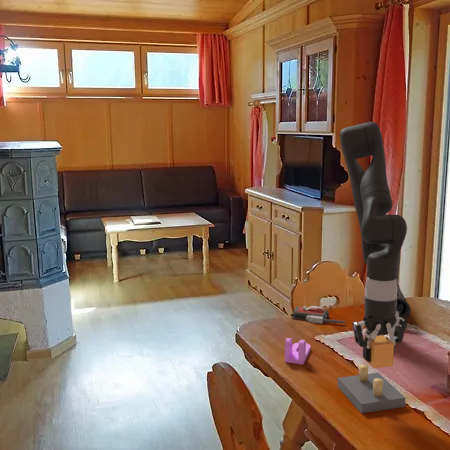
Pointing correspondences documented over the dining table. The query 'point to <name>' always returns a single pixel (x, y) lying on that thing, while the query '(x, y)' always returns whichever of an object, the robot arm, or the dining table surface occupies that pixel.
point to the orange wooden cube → (381, 352)
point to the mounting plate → (370, 391)
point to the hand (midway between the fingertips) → (378, 359)
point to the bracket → (292, 353)
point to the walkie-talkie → (313, 314)
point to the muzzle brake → (402, 305)
